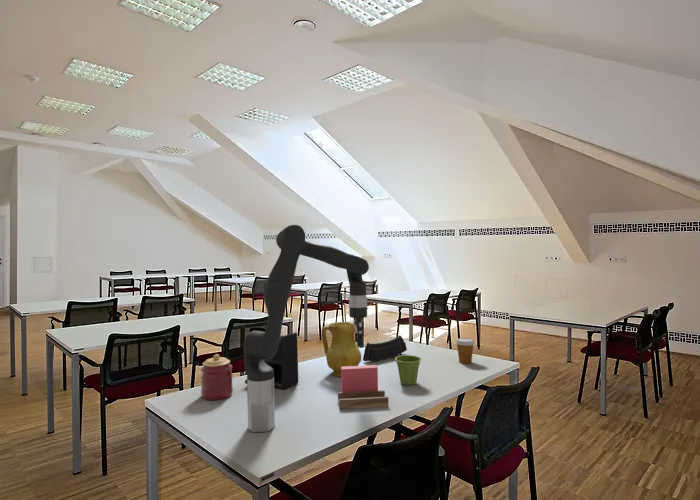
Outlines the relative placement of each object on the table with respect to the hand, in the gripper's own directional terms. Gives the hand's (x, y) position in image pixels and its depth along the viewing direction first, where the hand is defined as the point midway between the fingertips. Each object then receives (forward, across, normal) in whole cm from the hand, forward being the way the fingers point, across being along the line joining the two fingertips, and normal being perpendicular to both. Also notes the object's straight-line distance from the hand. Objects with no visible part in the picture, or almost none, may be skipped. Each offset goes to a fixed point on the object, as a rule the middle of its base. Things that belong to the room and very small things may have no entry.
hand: (358, 344), depth 185 cm
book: (+22, 0, 0) cm, 22 cm away
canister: (+22, +9, +60) cm, 64 cm away
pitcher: (+22, +34, +4) cm, 41 cm away
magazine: (+22, +58, -22) cm, 66 cm away
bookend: (+22, +23, +38) cm, 50 cm away
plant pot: (+22, +13, -24) cm, 35 cm away
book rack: (+22, -10, 0) cm, 24 cm away
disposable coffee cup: (+22, +43, -62) cm, 78 cm away
